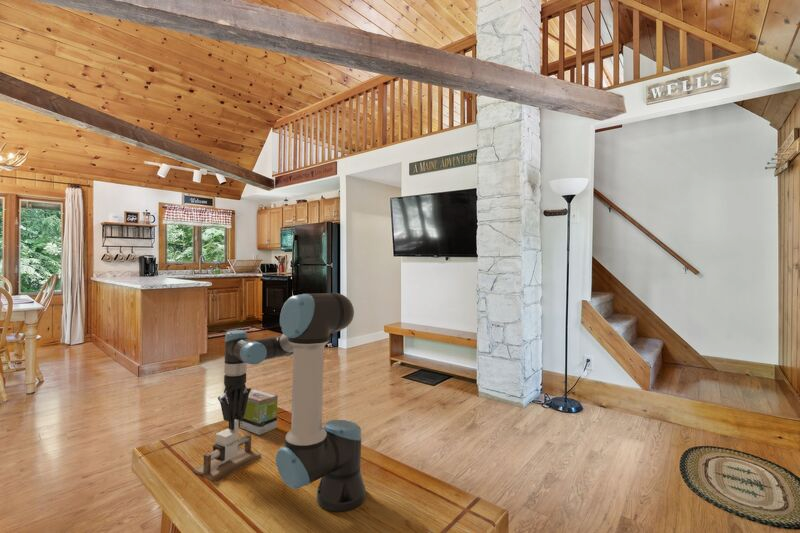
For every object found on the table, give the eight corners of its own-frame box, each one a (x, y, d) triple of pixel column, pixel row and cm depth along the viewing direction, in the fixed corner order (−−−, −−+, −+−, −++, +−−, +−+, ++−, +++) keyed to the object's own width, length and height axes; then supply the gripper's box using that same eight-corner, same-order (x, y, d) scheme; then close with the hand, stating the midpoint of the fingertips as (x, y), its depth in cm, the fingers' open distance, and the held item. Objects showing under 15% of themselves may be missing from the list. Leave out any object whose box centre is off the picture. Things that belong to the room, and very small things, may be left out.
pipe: (249, 443, 145) (249, 435, 145) (211, 462, 130) (212, 454, 130) (243, 441, 146) (243, 434, 146) (206, 460, 132) (206, 452, 132)
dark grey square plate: (224, 459, 134) (224, 446, 134) (221, 461, 133) (222, 448, 133) (215, 456, 136) (216, 443, 136) (212, 458, 135) (213, 445, 135)
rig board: (260, 456, 144) (261, 437, 144) (216, 481, 127) (217, 460, 127) (238, 449, 149) (238, 430, 149) (193, 472, 132) (193, 451, 132)
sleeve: (237, 455, 138) (237, 431, 138) (225, 461, 134) (225, 437, 134) (226, 451, 141) (227, 428, 141) (214, 457, 136) (215, 433, 136)
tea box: (277, 427, 170) (278, 394, 170) (258, 436, 161) (259, 401, 161) (256, 419, 178) (256, 388, 178) (236, 427, 169) (237, 394, 169)
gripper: (242, 367, 148) (241, 428, 148) (212, 376, 136) (211, 442, 136) (256, 370, 144) (255, 432, 144) (227, 379, 133) (225, 447, 133)
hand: (234, 437), depth 140 cm, fingers closed
